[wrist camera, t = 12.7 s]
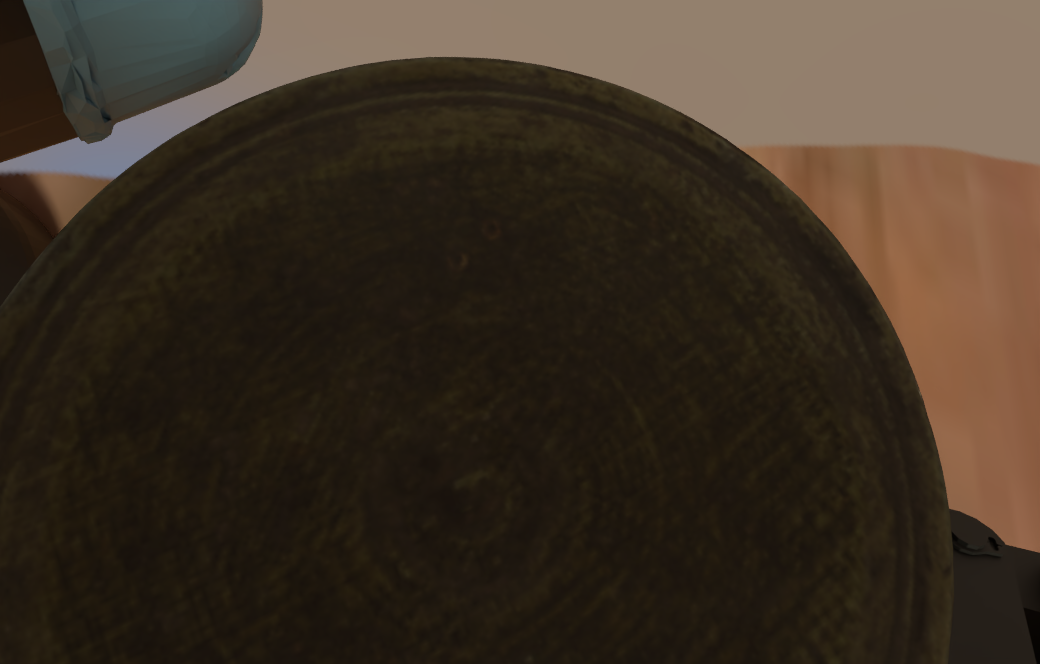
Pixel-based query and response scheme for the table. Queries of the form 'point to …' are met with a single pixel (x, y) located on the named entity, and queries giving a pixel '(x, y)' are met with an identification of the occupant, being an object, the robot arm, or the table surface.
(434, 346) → the container
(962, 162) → the table surface
